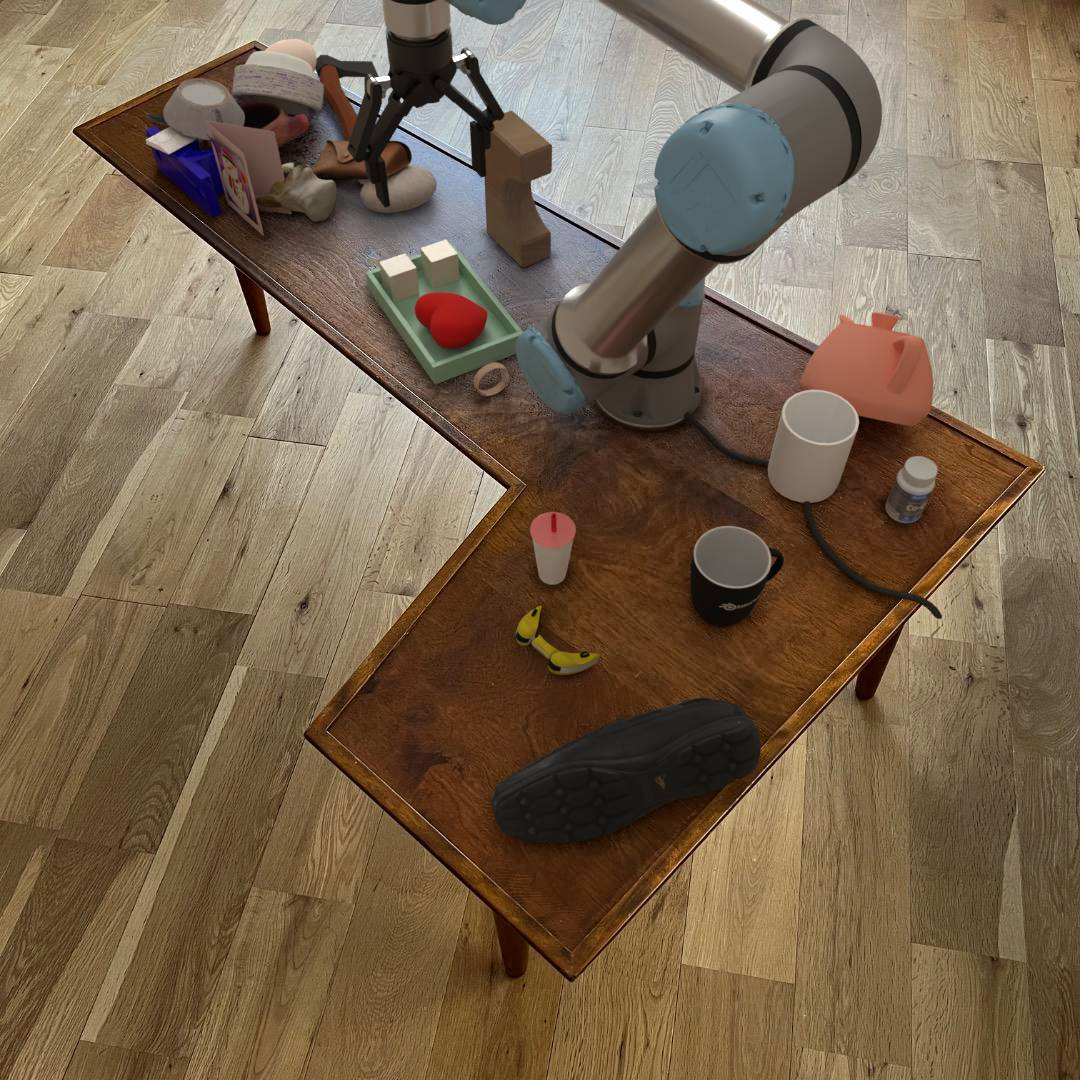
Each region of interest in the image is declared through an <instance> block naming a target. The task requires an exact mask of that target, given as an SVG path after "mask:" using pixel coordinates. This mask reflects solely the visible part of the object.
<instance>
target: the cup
mask: <svg viewBox="0 0 1080 1080" xmlns="http://www.w3.org/2000/svg"><path fill="white" fill-rule="evenodd" d="M529 532H530V536H531V538H532V545H533V550H534V556H535V562H536V568H537V575H538V578H539V579H540V581H541V582H543V583H544V584H547V585H553V586H554V585H559V584H560V583H562V582H563V581H564V580H565V578H566V576H567V573H568V567H569V563H570V558H571V552H572V548H573V544H574V543H573V542H574V539H575V536H576V533H577V527H576V524H575V521H574V520H573V519H572V518H570V516H568V515H567V514H564V513H562V512H558V511H548V512H544V513H541V514H539V515H537V517H535V518H534V519H533V520H532V521H531V524H530V527H529Z"/></svg>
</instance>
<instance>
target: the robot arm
mask: <svg viewBox="0 0 1080 1080" xmlns="http://www.w3.org/2000/svg"><path fill="white" fill-rule="evenodd" d="M595 1H596V2H598V3H599V4H601V5H603V6H604V7H605V8H608V9H609V10H611V11H612V12H614V13H615V14H616V15H618V16H620V17H621V18H623V19H624V20H626V21H627V22H629V23H630V24H632V25H634V26H635V27H637V29H638V28H639V29H640V30H642V31H643V32H645V33H646V34H648V35H649V36H651V37H653V39H656V40H657V41H659V42H660V43H662V44H663V45H665V46H666V47H668V48H670V49H671V50H673V51H674V52H676V53H677V54H679V55H680V56H682V57H684V58H685V59H686V60H688V61H689V62H691V63H693V64H695V65H696V66H697V67H699V68H700V69H702V70H703V71H706V72H707V73H708V74H709V75H712V76H713V77H715V78H716V79H718V80H719V81H721V82H723V83H724V84H726V85H727V86H729V87H730V88H732V89H733V90H734V91H737V94H735V95H733V96H732V97H730V98H728V99H726V100H724V101H722V102H720V103H718V104H715V105H712V106H710V107H707V108H705V109H703V110H701V111H700V112H699V113H697V114H695V115H692V116H691V117H690V118H689V119H688V120H686V121H685V122H684V123H683V124H682V125H681V126H680V127H678V128H677V129H676V130H675V131H674V132H672V133H671V135H670V136H669V137H668V138H667V140H666V141H665V142H664V144H663V146H662V147H661V149H660V151H659V154H658V156H657V158H656V162H655V167H654V173H653V176H654V178H655V179H656V180H657V184H656V185H655V186H654V188H653V190H654V197H655V204H654V206H653V207H652V209H651V210H650V211H649V212H648V213H647V214H646V216H645V217H644V218H643V219H642V221H641V222H640V223H639V225H638V226H637V227H636V228H635V229H634V231H633V232H632V233H631V234H630V235H629V237H628V238H627V239H626V240H625V242H624V243H623V244H622V245H621V246H620V248H619V249H618V250H617V252H615V254H614V255H613V256H612V257H611V258H610V260H609V261H608V262H607V264H606V265H605V266H604V267H603V268H602V270H601V271H600V272H599V274H597V276H596V277H595V278H594V280H593V281H592V282H587V283H586V282H585V283H582V284H579V285H577V286H575V287H573V288H572V289H571V290H569V291H567V293H566V294H565V295H564V296H563V297H562V299H560V301H559V303H557V305H556V306H555V308H554V309H553V310H551V312H550V313H549V314H548V315H547V316H546V317H545V318H543V319H542V320H541V321H539V322H537V323H536V324H535V325H530V326H528V327H527V328H526V330H525V331H523V333H522V334H521V335H520V336H519V337H518V339H517V341H516V354H515V356H516V360H517V363H518V365H519V368H520V371H521V373H522V375H523V377H524V379H525V381H526V382H527V384H528V386H529V387H530V389H531V390H532V391H533V392H534V394H535V395H536V396H537V398H538V399H539V400H540V401H541V402H542V403H543V404H544V405H545V406H547V407H548V408H550V409H551V410H552V411H553V412H555V413H558V414H560V415H566V416H567V415H572V414H575V413H576V412H578V411H580V410H581V409H582V410H583V409H586V408H587V407H588V405H589V404H590V403H592V402H594V405H595V407H596V408H597V410H598V411H599V412H600V414H601V415H602V416H603V417H604V418H606V419H607V420H608V421H610V422H611V423H612V424H614V425H616V426H617V427H619V428H622V429H625V430H628V431H631V432H636V433H644V434H657V433H658V434H659V433H663V432H668V431H672V430H675V429H677V428H679V427H681V426H683V425H685V424H686V423H687V422H689V423H690V424H691V425H692V426H693V427H694V428H695V429H696V430H698V431H699V433H701V434H702V435H703V437H705V438H706V439H707V440H708V442H709V443H710V444H711V445H712V446H713V447H714V448H715V449H717V450H718V451H719V452H720V453H722V454H723V455H725V456H727V457H729V458H731V459H734V460H736V461H740V462H742V463H747V464H752V465H757V466H761V467H765V468H768V464H769V460H768V459H765V458H758V457H753V456H749V455H745V454H741V453H738V452H736V451H733V450H732V449H730V448H727V447H726V446H725V445H723V444H722V443H721V442H720V441H719V440H718V439H717V438H716V437H715V435H713V433H711V431H710V430H709V429H708V428H707V427H705V426H704V425H703V423H701V422H700V421H699V420H698V419H696V418H695V417H694V416H695V415H696V413H697V412H698V410H699V407H700V404H701V401H702V395H703V394H702V393H703V383H702V382H703V381H702V378H701V374H700V371H699V367H698V363H697V360H696V356H695V355H696V347H697V341H698V335H699V329H700V322H701V315H702V311H703V310H702V309H703V303H704V301H705V298H706V292H705V287H706V286H705V285H706V278H707V277H708V276H709V274H710V273H712V271H714V270H715V269H716V268H717V267H718V265H729V264H735V263H738V262H741V261H744V260H745V259H747V258H748V257H749V256H751V255H752V254H753V253H755V251H756V250H757V249H758V248H760V247H761V246H762V245H763V244H764V243H765V242H766V241H767V240H768V239H769V238H771V236H772V235H774V234H775V233H776V232H777V231H778V230H779V229H780V228H781V227H782V226H783V225H785V224H786V223H787V222H788V221H789V220H790V219H792V218H793V217H794V216H796V215H797V214H798V213H800V212H801V211H803V210H804V209H805V208H807V207H809V206H810V205H812V204H813V203H815V202H816V201H818V200H820V199H821V198H823V197H824V196H825V195H827V194H829V193H831V192H832V191H833V190H835V189H836V188H838V187H840V186H842V185H844V184H845V183H847V182H848V181H850V180H851V179H853V177H855V176H856V175H858V173H859V172H860V170H861V169H862V168H863V167H864V166H865V165H866V164H867V162H868V161H869V159H870V157H871V156H872V153H873V152H874V151H875V148H876V146H877V144H878V141H879V137H880V134H881V128H882V122H883V104H882V99H881V94H880V90H879V87H878V85H877V82H876V79H875V77H874V75H873V73H872V72H871V70H870V68H869V67H868V65H867V64H866V63H865V62H864V60H863V58H861V56H860V55H859V54H858V53H857V52H856V51H855V50H854V49H853V48H852V47H851V46H850V45H849V44H848V43H846V42H845V41H844V40H843V39H841V38H840V37H839V36H837V35H836V34H834V33H832V32H831V31H830V30H827V29H826V28H824V27H823V26H821V25H820V24H818V23H817V22H814V21H813V20H811V19H809V18H806V17H801V18H796V19H794V20H792V21H789V20H787V19H786V18H784V17H782V16H781V15H778V14H777V13H775V12H773V11H772V10H770V9H769V8H767V7H765V6H763V5H762V4H760V3H758V2H757V1H755V0H595ZM526 2H527V0H381V4H382V11H383V19H384V26H385V27H386V28H385V40H386V49H387V58H388V65H389V69H388V73H387V75H386V76H385V75H384V76H379V77H374V76H373V75H371V74H368V75H366V76H365V77H364V81H363V84H364V85H363V86H364V88H363V89H364V90H363V91H364V94H363V97H362V100H361V103H360V106H359V109H358V113H357V119H356V122H355V125H354V128H353V131H352V134H351V137H350V140H349V144H348V147H347V150H348V151H349V153H350V154H351V156H352V157H353V158H354V160H355V161H356V162H362V161H365V168H366V175H367V177H368V178H369V180H370V181H371V183H372V184H375V189H376V196H377V198H378V199H379V200H380V202H381V203H382V205H383V206H384V207H385V208H386V207H389V206H390V199H389V191H388V183H387V175H386V167H385V161H384V159H383V158H382V157H381V156H380V155H381V154H382V152H383V151H384V149H385V147H386V146H387V144H388V142H389V141H391V139H392V137H393V136H394V134H395V132H396V130H397V129H398V127H399V126H400V124H401V122H402V120H403V119H404V118H405V117H408V115H409V114H410V112H411V111H412V109H413V108H414V107H415V109H420V108H422V107H424V106H426V105H428V104H438V103H440V100H441V99H442V98H444V96H445V97H446V98H447V99H449V100H450V101H451V102H452V103H454V104H455V105H456V106H457V107H459V108H460V109H461V110H462V111H463V112H464V113H466V114H467V115H468V116H469V117H470V118H472V119H473V120H472V121H469V134H470V135H469V137H470V153H471V154H470V155H471V168H472V169H473V170H474V172H475V173H476V174H477V175H478V176H479V177H480V178H484V177H485V176H486V158H485V150H487V149H490V146H491V132H492V131H493V130H494V127H495V126H494V124H493V122H494V121H496V120H498V121H500V120H502V119H503V118H504V113H505V112H504V111H503V108H502V107H501V105H500V104H499V102H498V101H497V99H496V97H495V95H494V94H493V92H492V90H491V89H490V87H489V85H488V84H487V82H486V80H485V78H484V77H483V75H482V73H481V68H480V63H479V58H477V56H476V55H475V54H474V53H473V52H472V51H471V50H470V49H469V48H468V47H463V48H461V50H460V53H459V55H456V56H454V51H453V35H452V33H453V32H452V26H451V23H452V15H451V14H452V13H451V6H452V7H454V8H455V9H457V11H458V12H460V13H461V14H464V15H465V16H469V17H470V18H474V19H476V20H478V21H480V22H483V24H484V23H485V24H486V25H492V26H499V25H504V24H506V23H508V22H509V21H511V20H513V19H514V18H515V16H516V13H517V12H518V11H520V10H522V9H523V7H525V4H526ZM453 56H454V57H453ZM457 70H459V71H460V72H461V73H462V74H463V75H466V76H467V78H468V80H469V81H470V83H471V85H472V86H473V88H474V90H475V92H476V93H477V94H478V96H479V97H480V100H482V103H483V104H484V106H485V109H484V110H482V109H481V108H479V107H478V106H477V105H476V104H475V103H474V102H472V101H471V100H470V99H469V98H468V97H466V96H465V95H464V94H463V93H462V92H461V91H460V90H459V89H457V88H456V87H455V86H454V85H453V84H452V82H453V79H454V78H455V76H456V73H457ZM389 89H392V90H391V92H390V93H389V95H388V98H387V103H386V105H385V107H384V109H383V111H382V112H381V109H382V103H383V99H385V98H386V97H387V95H386V94H387V91H388V90H389ZM401 99H402V101H401ZM380 112H381V114H380ZM379 114H380V116H379ZM802 504H803V509H804V516H805V520H806V522H807V527H808V529H809V531H810V533H811V535H812V536H813V538H814V539H815V541H816V542H817V545H819V546H820V548H821V549H822V551H823V552H824V553H825V555H826V556H827V557H828V558H829V559H830V560H831V561H832V563H834V565H835V566H836V567H838V569H839V570H841V571H842V573H844V574H845V575H847V576H848V578H850V579H851V580H853V581H855V582H856V583H857V584H858V585H860V586H862V587H863V588H865V589H866V590H869V591H870V592H873V593H876V594H878V595H882V596H886V597H890V598H895V599H901V600H905V601H909V602H910V601H911V602H913V603H916V604H919V605H921V606H923V607H924V608H926V610H928V611H929V612H930V613H931V614H932V615H933V617H934V618H935V619H937V620H941V619H943V614H942V613H941V611H940V610H939V609H938V607H937V606H936V605H935V604H933V602H931V601H930V600H929V599H927V598H925V597H922V596H920V595H917V594H915V593H912V592H906V591H902V590H897V589H891V588H886V587H884V586H880V585H878V584H875V583H872V582H871V581H869V580H867V578H864V577H863V576H861V575H860V574H859V573H858V572H856V571H854V569H852V568H851V567H850V566H849V565H847V564H846V563H845V561H843V560H842V559H841V558H840V557H839V556H838V555H837V553H835V551H834V550H833V549H832V548H831V546H830V545H829V543H828V542H827V541H826V539H825V538H824V537H823V535H822V534H821V532H820V531H819V529H818V526H817V525H816V523H815V520H814V516H813V511H812V505H811V504H812V503H810V502H809V501H805V502H803V503H802ZM921 603H922V604H921Z"/></svg>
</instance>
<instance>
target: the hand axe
mask: <svg viewBox="0 0 1080 1080" xmlns="http://www.w3.org/2000/svg"><path fill="white" fill-rule="evenodd" d="M316 60H317V62H316V68H315V71H316V74H317V77H318V78H319V81H320V82H321V83H322V84H323V85H324V94H323V99H324V100H325V102H326V103H327V105H328V106H329V108H330V109H331V110H332V112H333V113H334V115H335V117H336V119H337V121H338V123H339V126H340V128H341V131H342V135H343V137H344V140H345V141H349V140H350V137H351V134H352V131H353V128H354V125H355V122H356V119H357V116H358V113H356V111H355V109H354V108H353V106H352V104H351V102H350V100H349V98H348V97H347V95H346V93H345V91H344V89H343V87H342V83H341V80H340V79H342V78H365V76H366V75H368V74H371V75H373V76H374V78H378V77H380V76H379V74H378V72H377V69H376V67H375V65H374V62H373V61H372V60H340V59H338V58H335V57H333V56H330V55H329V54H320V55H319V56H318V57H316Z"/></svg>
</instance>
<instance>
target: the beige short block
mask: <svg viewBox="0 0 1080 1080" xmlns="http://www.w3.org/2000/svg"><path fill="white" fill-rule="evenodd" d="M409 257H410V256H408V255H407V253H406V252H405V253H401V254H399V255H396V256H392V257H390V258H387V259H384V260H380V261H379V262H378V268H379V267H380V274H381V281H382V288H383V289H384V291H385V292H386V294H387V295H388V296H389V298H390V299H391V301H392V302H393V303H396V302H398V301H401V300H404V299H407V298H410V297H413V296H415V295H418V294H419V285H418V276H417V268H416V267H415V265H414V264H413V263H412V261H411V260H410V259H409Z"/></svg>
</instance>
